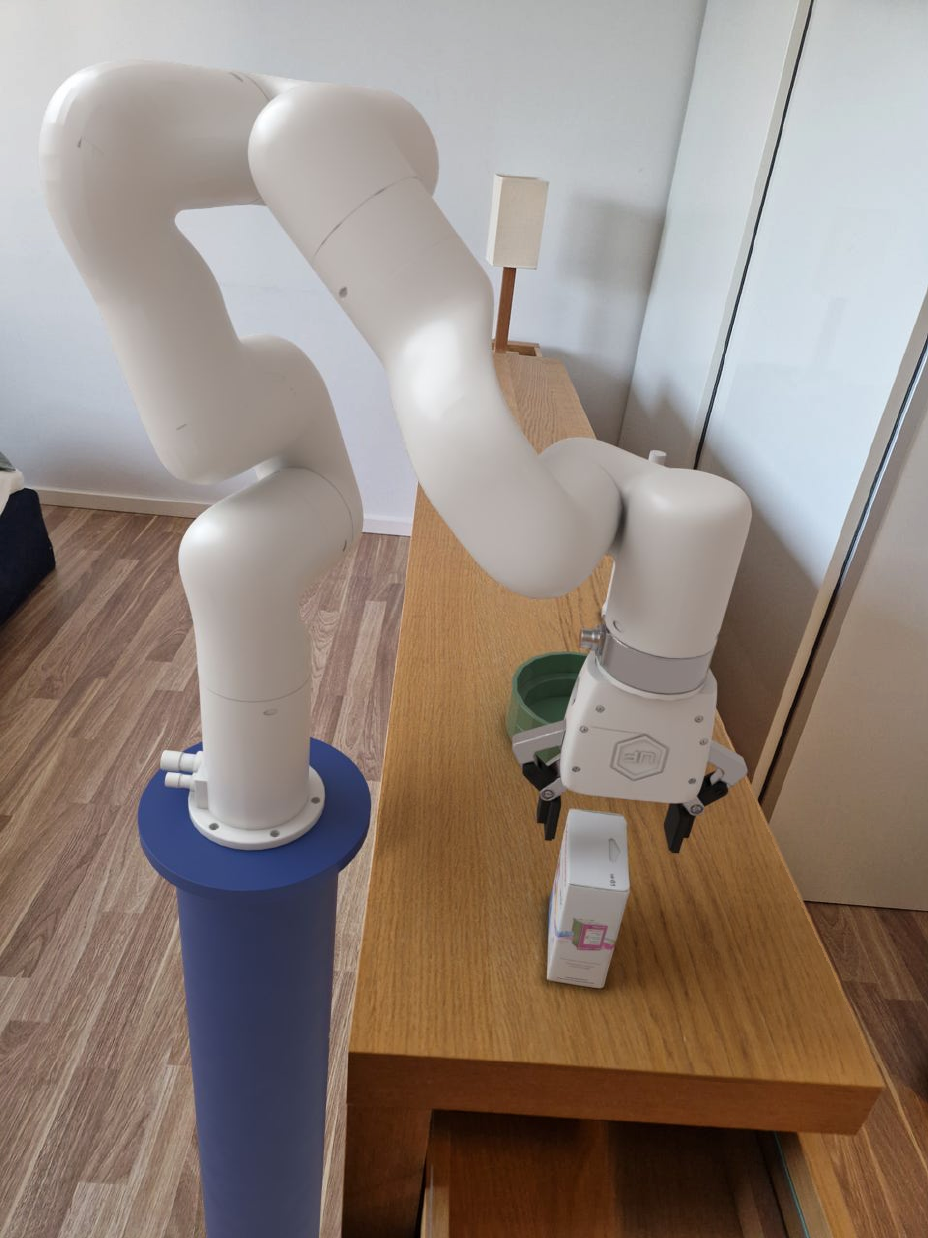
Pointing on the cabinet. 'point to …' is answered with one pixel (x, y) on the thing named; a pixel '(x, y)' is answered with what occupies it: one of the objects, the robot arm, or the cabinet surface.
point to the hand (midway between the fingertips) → (609, 834)
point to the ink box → (587, 897)
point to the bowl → (542, 693)
